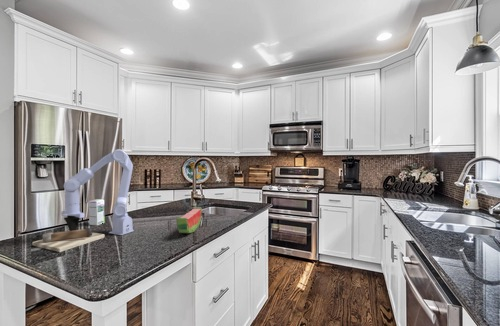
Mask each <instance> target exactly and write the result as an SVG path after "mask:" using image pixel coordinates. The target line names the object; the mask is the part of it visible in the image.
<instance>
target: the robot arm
mask: <svg viewBox="0 0 500 326" xmlns="http://www.w3.org/2000/svg"><path fill="white" fill-rule="evenodd" d="M114 161H115V162H117V163H118V164H119V165H120V166H121V167H122V174H121V179H120V185H119V188H118V194H117V197H116V198H117V199H116V202H115V204H114V205H113V210H112V213H113V214H112V231H111V230H110V231H109V232H108V234H112V235H117V236H123V235H126V234H129V233H132V232H135V230H134V229H133V218H132V217H131V216H129V214H128V207H127V199H128V194H129V189H130V184H131V179H132V175H133V174H132V173H133V170H134V165H133V162H132V160H131V159H130V157H129V155H128V154H127V153H126V152H125V151H124V150H123V149H119V148H117V149H114V150H113V151H112V152H110V153H108V154H106V155H104V156H103V157H102V158H100V159H99V160H98V161H97V162H95V163H94V164H93V165H91V166H90V167H88V168H86V167H84V168H81V169H79V171H78V172H77V173H76V174H75V175H71V176H70V179H67V180H66V181H65V182H64V183H63V188H64V210H63V211H61V216H64V217H63V220H64V221H65V222H66V224H67V228H68V231H73V230H78V224H79V222H80V220H81V219H83V218H85V213H84V212H82V211H80V209H81V207H80V187H81V186H83V185H85V184H86V183H88V182H89V180H91V179H92V178H94V176H95V175H94V174H95V173H96V172H97V171H98V170H100V169H101V168H102V167H104V166H106V165H107V164H109V163H113V162H114Z"/></svg>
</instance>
